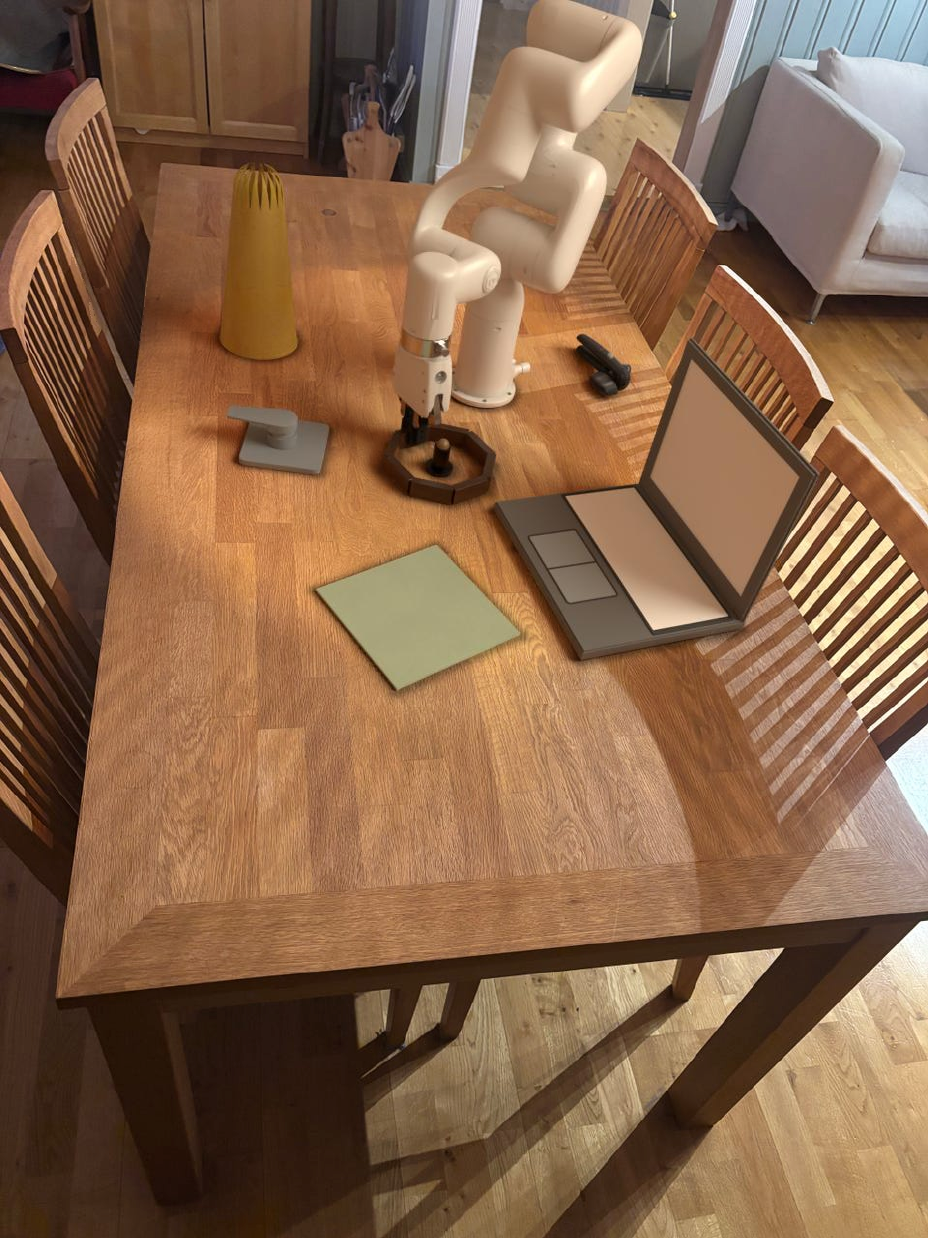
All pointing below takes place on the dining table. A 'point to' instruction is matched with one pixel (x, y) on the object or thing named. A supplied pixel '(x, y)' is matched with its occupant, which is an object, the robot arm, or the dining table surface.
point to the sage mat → (417, 615)
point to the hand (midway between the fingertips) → (412, 439)
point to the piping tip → (258, 271)
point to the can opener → (603, 367)
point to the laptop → (670, 524)
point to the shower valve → (280, 440)
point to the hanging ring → (437, 489)
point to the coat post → (440, 460)
